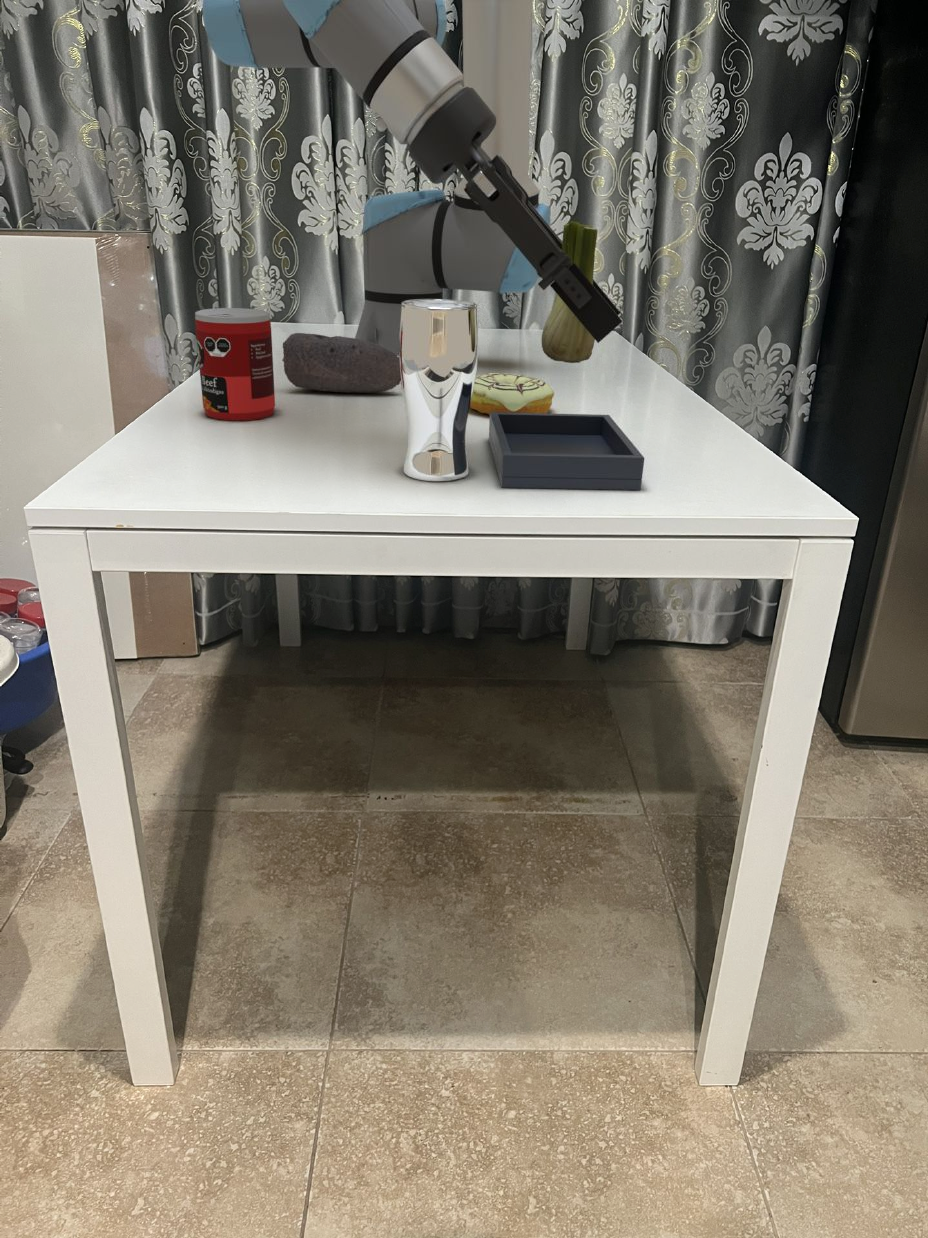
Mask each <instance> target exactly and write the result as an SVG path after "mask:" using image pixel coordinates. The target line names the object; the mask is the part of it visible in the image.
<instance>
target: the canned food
mask: <svg viewBox="0 0 928 1238" xmlns="http://www.w3.org/2000/svg"><path fill="white" fill-rule="evenodd" d="M194 314H195V315H194V316H195V317H194V321H195V323H194V324H195V335H196V345H197V357H198V366H199V377H200V386H201V387H200V389H201V399H202V407H203V410H204V413H205V415H206V416H207V417H210V418H211V419H214V420H215V419H216V420H221V421H232V422H233V421H236V422H237V421H239V422H240V421H244V422H245V421H255V420H261V419H266V418H268V417H270V416H272V415H273V414H274V412H275V408H276V395H275V393H276V392H275V375H274V357H273V356H274V355H273V338H272V323H271V322H272V321H271V316H270V315H271V314H270V312H269V311H267V310H262V309H255V308H244V307H218V308H205V309H200V310H197V311H195V313H194Z"/></svg>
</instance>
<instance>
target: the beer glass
mask: <svg viewBox="0 0 928 1238" xmlns="http://www.w3.org/2000/svg"><path fill="white" fill-rule="evenodd" d="M401 304H402V308H401V321H400V334H399V369H400V378H401V381H400V385H401V391H402V398H403V403H404V409H405V410H404V411H405V414H406V421H407V434H408V435H407V448H406V454H405V460H404V462H403V463H404V464H403V473H404V474H405V475H406V476H407V477H409V478H412V479H415V480H419V481H425V482H427V481H428V482H452V481H457V480H461V479H463V478H465V477H467V476H468V475H469V462H468V457H467V455H468V454H467V449H466V447H467V446H466V432H467V423H468V418H469V414H470V409H471V407H470V404H471V399H472V394H473V389H474V384H475V378H476V377H477V371H478V358H479V357H478V356H479V327H478V304H477V303H475V302H473V301H467V300H459V299H446V298H443V299H414V300H406V301H403V302H402V303H401Z"/></svg>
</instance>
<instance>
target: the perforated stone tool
mask: <svg viewBox="0 0 928 1238" xmlns="http://www.w3.org/2000/svg"><path fill="white" fill-rule="evenodd" d="M282 351H283V353H282V354H283V358H282V359H281V361H282V362H283V371H284V373H285V376H286V379H287V380H288V382H289V383H291V384H292V385H293V386H295V387H298V388H301V389H308V390H313V391H320V392H331V393H344V394H349V393H350V394H351V393H352V394H359V393H360V394H376V393H382V392H386V391H390V390H392V389H394V388H396V387H397V386H399V385H400V384H401V378H400V369H399V357H398V356H397V355H395V354H394V353H393V352H391V351H390V350H388V349H386V348H384V347H382V346H380V345H377V344H374V343H371V342H368V341H364V340H360V339H355V337H347V336H341V335H334V336H328V335H324V334H323V335H322V334H317V333H306V332H295V333H290V335H289V336H288V337H286V339H285V341H283V342H282Z"/></svg>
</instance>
